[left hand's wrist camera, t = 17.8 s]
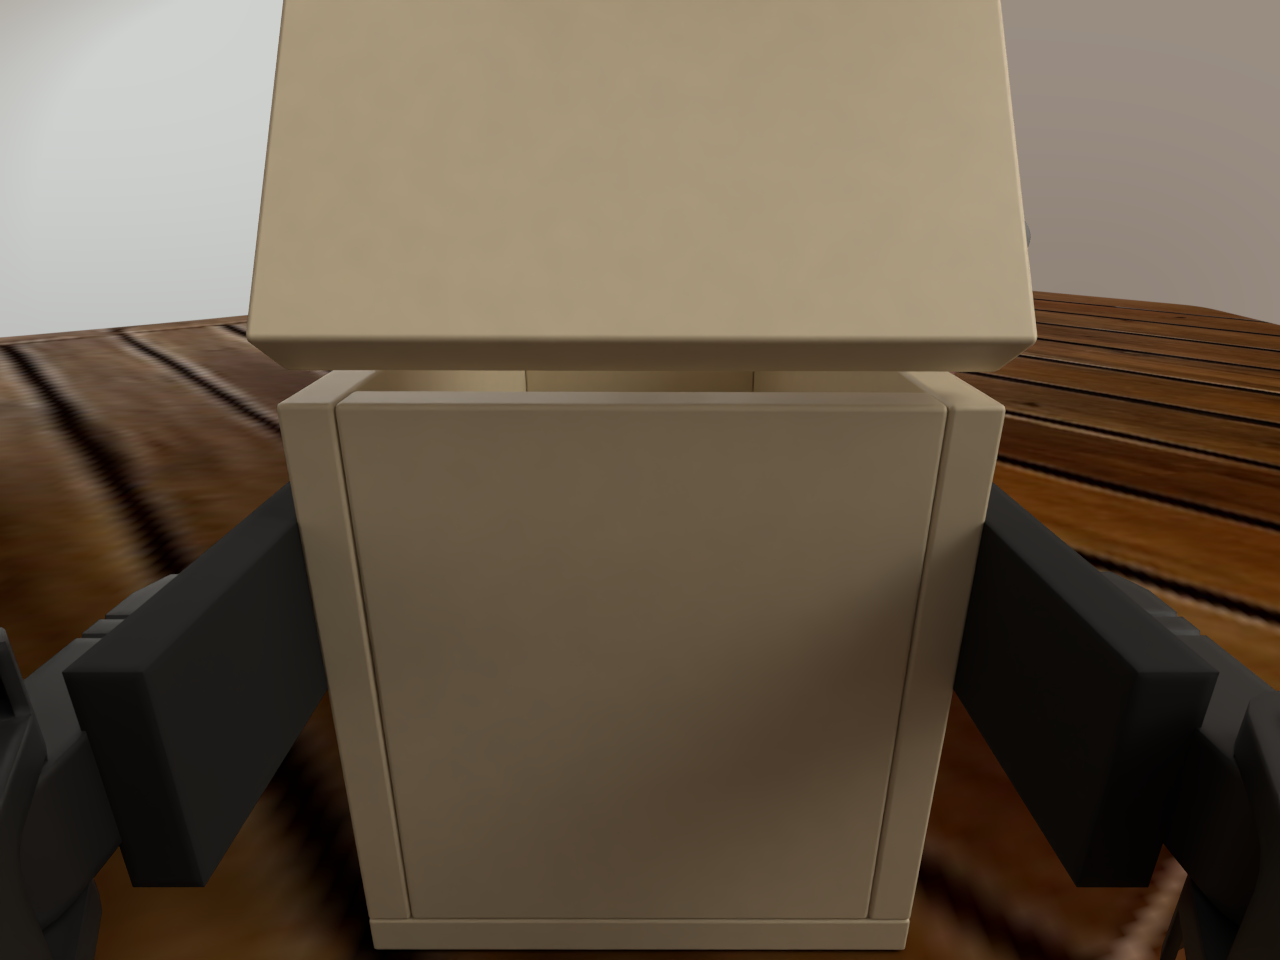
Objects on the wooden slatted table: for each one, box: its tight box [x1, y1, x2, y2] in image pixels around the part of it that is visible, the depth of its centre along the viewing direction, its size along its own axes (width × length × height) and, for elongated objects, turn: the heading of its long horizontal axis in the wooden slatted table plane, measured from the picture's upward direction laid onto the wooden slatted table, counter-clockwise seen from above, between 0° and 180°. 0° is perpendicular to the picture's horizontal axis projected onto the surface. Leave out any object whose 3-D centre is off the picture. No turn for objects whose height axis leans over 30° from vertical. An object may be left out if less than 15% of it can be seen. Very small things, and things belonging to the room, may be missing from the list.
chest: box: [277, 370, 1005, 950], centre depth 19 cm, size 17×9×10 cm, turn 0°
